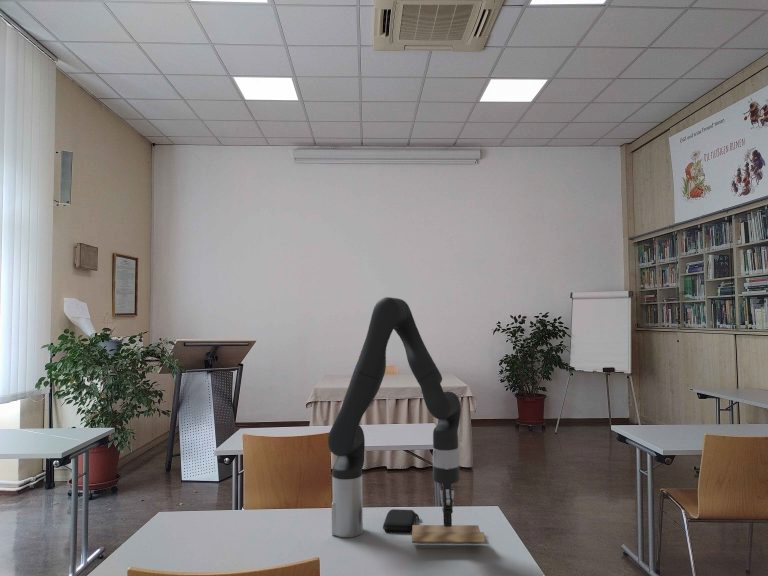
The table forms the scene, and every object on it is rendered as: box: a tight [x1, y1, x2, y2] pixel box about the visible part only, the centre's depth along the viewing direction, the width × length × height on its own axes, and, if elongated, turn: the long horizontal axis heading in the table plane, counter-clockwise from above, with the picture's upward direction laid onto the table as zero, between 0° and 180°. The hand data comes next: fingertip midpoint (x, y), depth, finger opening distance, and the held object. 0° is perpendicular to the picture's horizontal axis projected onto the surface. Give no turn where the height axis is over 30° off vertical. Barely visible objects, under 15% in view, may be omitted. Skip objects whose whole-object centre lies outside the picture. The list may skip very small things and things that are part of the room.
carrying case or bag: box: [382, 508, 420, 534], centre depth 172 cm, size 11×3×15 cm
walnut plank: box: [411, 524, 481, 533], centre depth 162 cm, size 20×6×2 cm, turn 87°
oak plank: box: [411, 531, 486, 544], centre depth 154 cm, size 20×8×2 cm, turn 87°
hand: (447, 525), depth 152 cm, fingers closed
